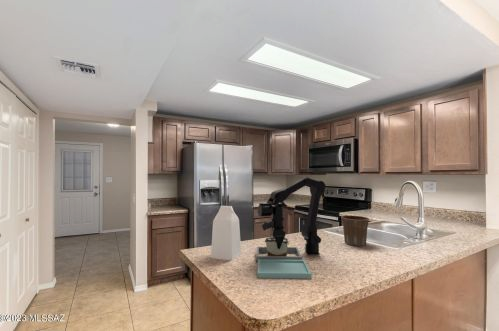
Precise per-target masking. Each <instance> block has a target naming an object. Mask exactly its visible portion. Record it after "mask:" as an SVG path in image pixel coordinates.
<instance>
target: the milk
mask: <svg viewBox="0 0 499 331" xmlns="http://www.w3.org/2000/svg"><path fill="white" fill-rule="evenodd" d="M240 227H241V226H240V218H239V217H238V215H237V214H236V213H235V211H234V208H233V206H232V205H220V207H219V210H218V212H217V213H216V215H215V217H214V219H213V220H212V230H211V232H212V234H211V235H212V236H211V250H210V253H211V254H210V258H211V259H217V260H225V261H234V260H235V259H236V258H238V257H239V256H240V255H241V254H242V246H241V244H242V243H241V230H240Z"/></svg>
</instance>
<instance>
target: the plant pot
mask: <svg viewBox="0 0 499 331" xmlns="http://www.w3.org/2000/svg"><path fill="white" fill-rule="evenodd" d="M340 218H341V223H342V228H343V238H344V240H343V241H344V243H345V244H346V245H347V246H352V247H353V246H356V247H365V246H366V245H367V237H368V226H369V222H370V217H367V216H364V215H363V216H362V215H349V214H348V215H342V216H341V217H340Z"/></svg>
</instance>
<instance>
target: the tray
mask: <svg viewBox="0 0 499 331" xmlns="http://www.w3.org/2000/svg"><path fill="white" fill-rule="evenodd" d="M256 276H257V278H259V279H260V278H261V279H308V280H309V279H312V272H311V270H310V268H309V266H308V264H307V262H306V259H302V260H270V259H258V263H257V275H256Z"/></svg>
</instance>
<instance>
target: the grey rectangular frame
mask: <svg viewBox="0 0 499 331" xmlns="http://www.w3.org/2000/svg"><path fill="white" fill-rule="evenodd" d="M255 253H256V254H255V262H256V263H255V264H258V259H270V260H303V255H302V254H301V251H300V249H299V247H298V246H287V254H295V255H293V256H291V255H288V256H267V255H260V254H267V247H266V246H257V247H256V252H255Z"/></svg>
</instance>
